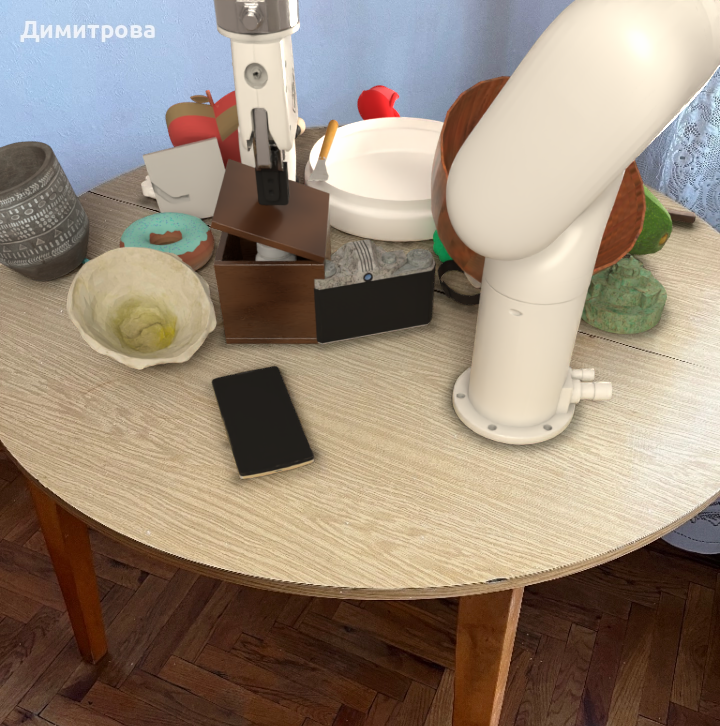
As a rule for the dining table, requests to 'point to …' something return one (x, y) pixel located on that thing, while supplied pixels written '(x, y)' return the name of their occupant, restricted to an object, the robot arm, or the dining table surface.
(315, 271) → the chest
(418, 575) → the dining table surface
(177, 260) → the bowl
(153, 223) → the donut
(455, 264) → the watch
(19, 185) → the planter
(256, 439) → the smartphone
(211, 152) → the grey square panel
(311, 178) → the fork
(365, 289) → the camera
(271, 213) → the lid
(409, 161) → the plate
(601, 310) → the decorative artifact
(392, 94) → the cap
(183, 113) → the decorative object
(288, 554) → the dining table surface
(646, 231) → the fruit
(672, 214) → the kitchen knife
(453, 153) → the bowl
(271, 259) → the supplement bottle
